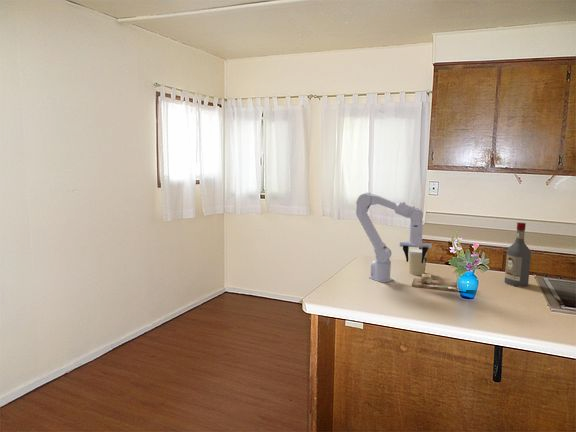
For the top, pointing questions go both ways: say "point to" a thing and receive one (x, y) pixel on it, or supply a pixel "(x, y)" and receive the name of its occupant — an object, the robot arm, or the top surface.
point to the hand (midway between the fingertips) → (414, 262)
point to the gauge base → (436, 285)
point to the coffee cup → (416, 262)
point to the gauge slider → (426, 278)
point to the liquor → (518, 260)
